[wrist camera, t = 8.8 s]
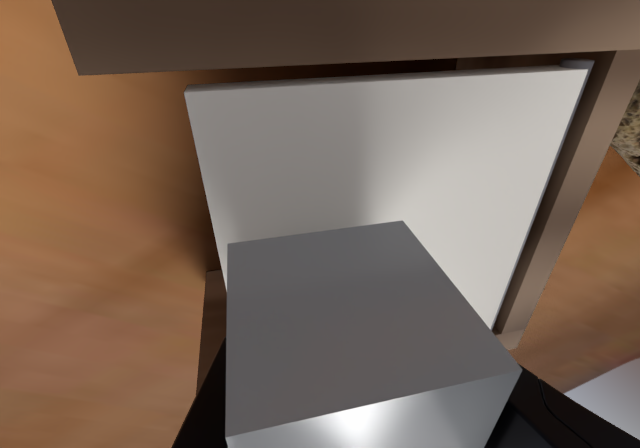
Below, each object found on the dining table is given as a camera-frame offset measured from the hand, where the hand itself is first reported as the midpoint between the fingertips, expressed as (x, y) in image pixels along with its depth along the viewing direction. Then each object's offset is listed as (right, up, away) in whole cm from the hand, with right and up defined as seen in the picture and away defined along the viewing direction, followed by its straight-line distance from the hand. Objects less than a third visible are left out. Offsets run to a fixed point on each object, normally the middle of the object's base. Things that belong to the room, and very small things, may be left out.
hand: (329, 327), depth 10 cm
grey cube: (0, +1, +1) cm, 1 cm away
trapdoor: (+2, +2, +4) cm, 5 cm away
